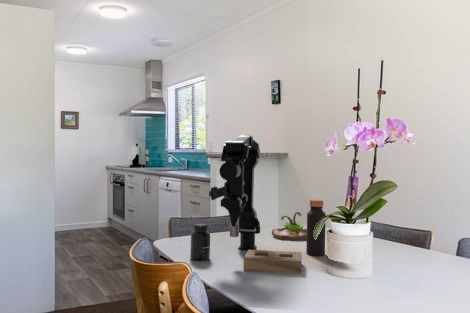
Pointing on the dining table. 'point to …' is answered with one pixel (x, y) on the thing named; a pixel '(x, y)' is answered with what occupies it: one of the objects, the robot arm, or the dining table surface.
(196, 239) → the supplement bottle
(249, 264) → the peg board
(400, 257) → the dining table surface
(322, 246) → the vinegar
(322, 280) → the dining table surface
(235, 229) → the peg
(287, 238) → the plant
